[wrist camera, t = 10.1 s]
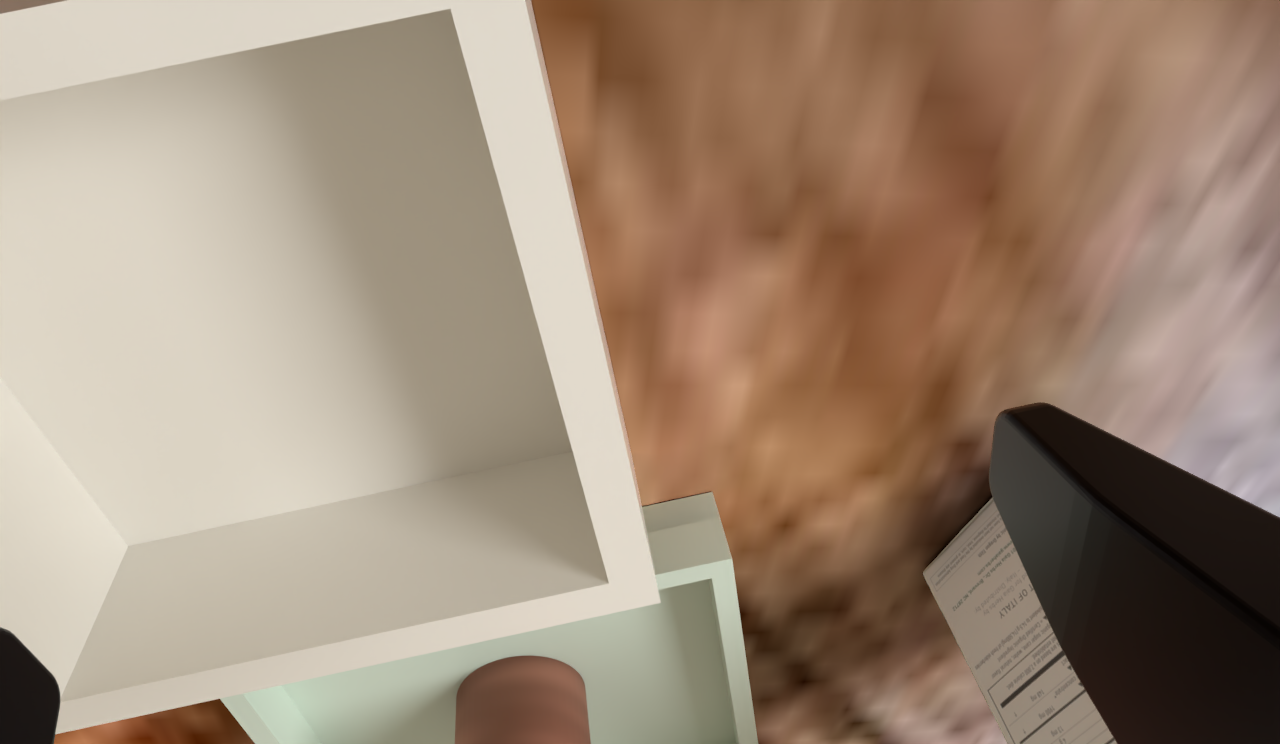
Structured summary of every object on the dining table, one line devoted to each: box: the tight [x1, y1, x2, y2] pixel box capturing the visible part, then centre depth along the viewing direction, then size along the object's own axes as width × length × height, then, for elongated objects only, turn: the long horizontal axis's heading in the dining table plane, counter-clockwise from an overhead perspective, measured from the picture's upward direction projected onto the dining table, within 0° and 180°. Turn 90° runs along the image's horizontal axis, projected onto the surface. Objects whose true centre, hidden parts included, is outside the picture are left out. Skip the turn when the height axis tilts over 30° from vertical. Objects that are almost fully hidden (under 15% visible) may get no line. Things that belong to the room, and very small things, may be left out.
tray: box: [220, 492, 758, 744], centre depth 27 cm, size 14×12×2 cm
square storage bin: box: [0, 0, 661, 734], centre depth 17 cm, size 14×14×5 cm
